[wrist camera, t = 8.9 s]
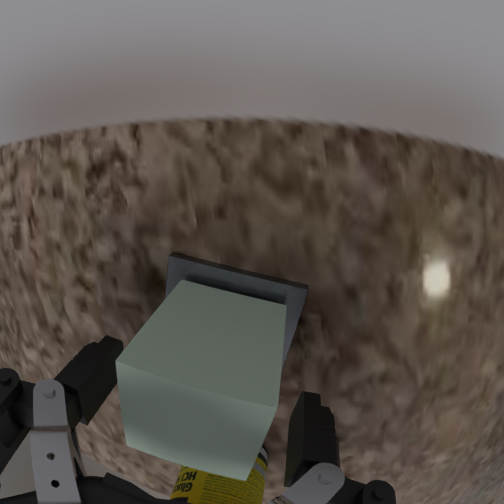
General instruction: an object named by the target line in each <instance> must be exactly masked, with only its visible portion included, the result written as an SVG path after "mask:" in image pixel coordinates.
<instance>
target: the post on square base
mask: <svg viewBox="0 0 504 504" xmlns="http://www.w3.org/2000/svg"><path fill="white" fill-rule="evenodd" d="M181 280H185V281H189V282H193V283H197V284H201V285H205V286H209V287H212V288H216V289H220V290H224V291H228V292H232V293H236V294H241V295H245V296H249V297H253V298H257V299H261V300H266V301H270V302H274V303H279V304H283V305H287V306H286V320H285V333H284V346H283V358H282V368H283V365H284V362H285V359H286V356H287V353H288V351H289V348H290V345H291V342H292V339H293V336H294V333H295V330H296V327H297V324H298V321H299V318H300V314H301V311H302V308H303V305H304V302H305V299H306V296H307V292H308V285H304V284H299V283H295V282H291V281H286V280H282V279H278V278H274V277H270V276H265V275H261V274H257V273H253V272H249V271H245V270H241V269H236V268H232V267H228V266H224V265H220V264H216V263H212V262H208V261H204V260H200V259H196V258H192V257H188V256H184V255H180V254H176V253H172V254H171V255H170V256H169V262H168V272H167V283H166V294H165V299H166V298H167V296H168V295H169V294H170V293H171V292H172V290H173V289H174V288H175V287H176V286H177V284H178V283H179V282H180V281H181ZM281 371H282V369H281Z"/></svg>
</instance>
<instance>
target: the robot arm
mask: <svg viewBox="0 0 504 504" xmlns="http://www.w3.org/2000/svg"><path fill="white" fill-rule="evenodd" d="M122 352H123V342H122V341H121V340H118V339H116V338H113V337H110V336H108V335H107V336H105V337H104V338H103V339H102V340H101V341H100V342H99V343H96V342H93V343H91V344H88V345H86V346H84V347H83V349H82V350H81V351H80V352H79V353H78V355H76V356H75V357H74V358H73V360H71V361H70V362H69V363H68V364H67V365H66V367H65V368H64V369H63V370H62V371H61V372H60V373H59V374H58V375H57V376H56V377H55V378H54V379H53V380H52V379H45V380H42V381H40V382H38V383H37V384H34V383H30V382H26V381H22V380H20V378H19V375H18V373H17V372H16V371H15V370H13V369H10V368H2V369H0V474H1V473H2V471H3V470H4V468H5V467H6V465H7V464H8V462H9V460H10V459H11V458H12V456H13V454H14V453H15V451H16V450H17V449H18V447H19V445H20V444H21V442H22V441H23V440H24V438H25V437H26V435H27V434H28V433H29V431H30V441H31V454H32V464H33V473H34V480H35V487H36V491H32V492H28V493H24V494H20V495H16V496H12V497H7V498H2V499H0V504H193V503H189V502H185V501H174V500H165V499H158V498H154V497H153V496H151V495H149V494H148V493H146V492H145V491H143V490H141V489H140V488H138V487H137V486H135V485H134V484H132V483H131V482H128V481H126V480H123V479H121V478H119V477H116V476H114V475H112V474H110V473H106V475H105V477H98V476H87V474H86V471H85V468H84V465H83V462H82V457H81V452H80V447H79V442H78V436H77V431H76V425H77V424H78V423H79V422H81V423H83V424H85V425H88V424H89V422H90V421H91V419H92V418H93V416H94V415H95V414H96V412H97V411H98V409H99V408H100V406H101V405H102V404H103V402H104V401H105V399H106V398H107V396H108V395H109V394H110V392H111V391H112V389H113V388H114V386H115V385H116V384H117V382H118V381H117V372H116V359H117V358H118V357H119V356H120V354H121V353H122ZM334 427H335V422H334V416H333V414H332V412H331V410H330V409H329V407H324V406H321V400H320V394H317V393H311V392H305V391H302V393H301V395H300V397H299V399H298V401H297V403H296V406H295V408H294V410H293V412H292V415H291V418H290V422H289V431H288V445H287V458H286V470H285V482H284V487H290V488H289V489H287V490H286V491H285V492H284V493H283V494H282V495H280V496H279V497H276V498H274V499H273V500H271V501H270V502H269V503H267V504H396V498H395V491H394V489H393V487H392V486H391V485H390V484H389V483H387V482H385V481H382V480H374V481H371V482H369V483H368V484H363V483H360V482H357V481H354V480H351V479H349V478H347V477H346V476H344V474H343V472H342V470H341V469H340V468H339V467H338V464H337V449H336V436H335V428H334ZM0 487H1V484H0Z"/></svg>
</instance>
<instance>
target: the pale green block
mask: <svg viewBox="0 0 504 504" xmlns="http://www.w3.org/2000/svg"><path fill="white" fill-rule="evenodd" d="M286 306H287V305H283V304H279V303H274V302H270V301H266V300H261V299H257V298H253V297H249V296H245V295H241V294H236V293H232V292H228V291H224V290H220V289H216V288H212V287H209V286H205V285H201V284H197V283H193V282H189V281H185V280H181V281H180V282H179V283H178V284H177V286H176V287H175V288H174V289H173V290H172V292H171V293H170V294H169V295H168V296H167V298H166V299H165V300H164V301H163V302H162V304H161V305H160V306H159V307H158V308H157V310H156V311H155V312H154V313H153V315H152V316H151V317H150V318H149V319H148V321H147V322H146V323H145V324H144V326H143V327H142V328H141V329H140V331H139V332H138V333H137V334H136V335H135V337H134V338H133V339H132V340H131V342H130V343H129V344H128V345H127V347H126V348H125V349H124V350H123V352H122V353H121V354H120V356H119V357H118V358H117V359H116V372H117V381H118V390H119V398H120V406H121V413H122V419H123V426H124V432H125V437H126V443H127V446H130V447H132V448H135V449H137V450H140V451H143V452H145V453H148V454H151V455H153V456H156V457H159V458H162V459H165V460H168V461H171V462H174V463H177V464H180V465H184V466H187V467H191V468H194V469H198V470H201V471H205V472H209V473H213V474H217V475H221V476H225V477H230V478H234V479H239V480H244V481H246V479H247V477H248V475H249V473H250V471H251V469H252V467H253V464H254V462H255V460H256V458H257V456H258V453H259V451H260V449H261V446H262V444H263V442H264V440H265V437H266V435H267V433H268V430H269V428H270V425H271V423H272V421H273V418H274V416H275V413H276V411H277V408H278V401H279V391H280V380H281V369H282V358H283V346H284V333H285V320H286Z"/></svg>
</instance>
